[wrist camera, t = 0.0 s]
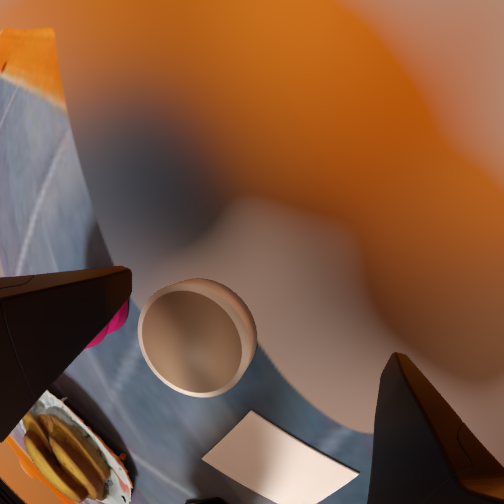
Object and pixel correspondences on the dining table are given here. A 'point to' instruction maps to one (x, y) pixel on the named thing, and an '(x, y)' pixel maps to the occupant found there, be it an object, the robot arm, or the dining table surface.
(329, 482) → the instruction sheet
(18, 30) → the dining table surface
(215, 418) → the dining table surface
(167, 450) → the dining table surface
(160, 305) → the round bowl
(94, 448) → the food on plate
